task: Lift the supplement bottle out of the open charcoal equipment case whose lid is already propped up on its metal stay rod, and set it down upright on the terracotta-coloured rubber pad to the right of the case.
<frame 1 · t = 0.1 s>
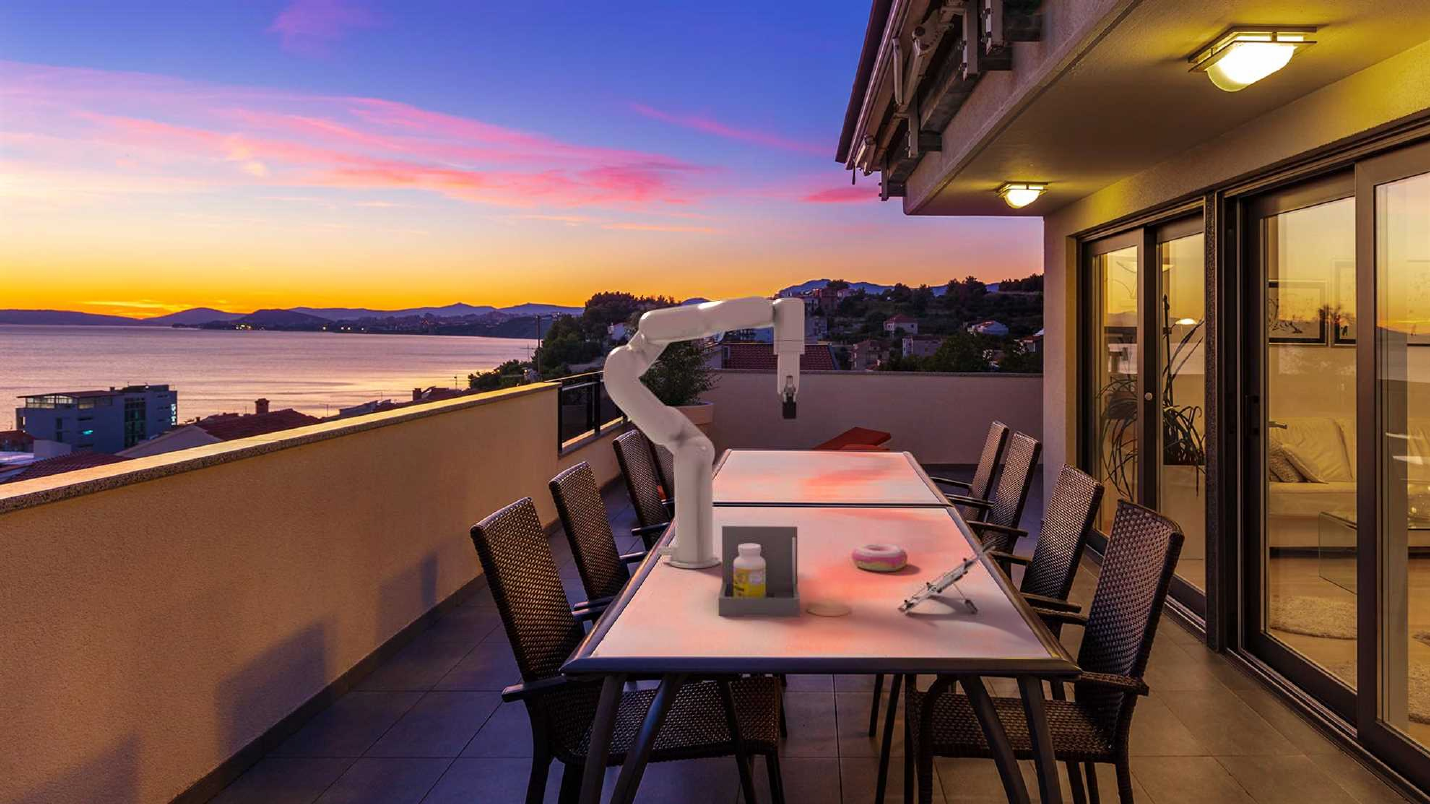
hand: (789, 417, 206), 37 cm above the table, fingers open, 9 cm apart
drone: (946, 610, 170), on the table
case: (759, 607, 171), on the table
donut: (879, 567, 205), on the table
supplement bottle: (749, 608, 172), resting in case
pad: (828, 609, 169), on the table
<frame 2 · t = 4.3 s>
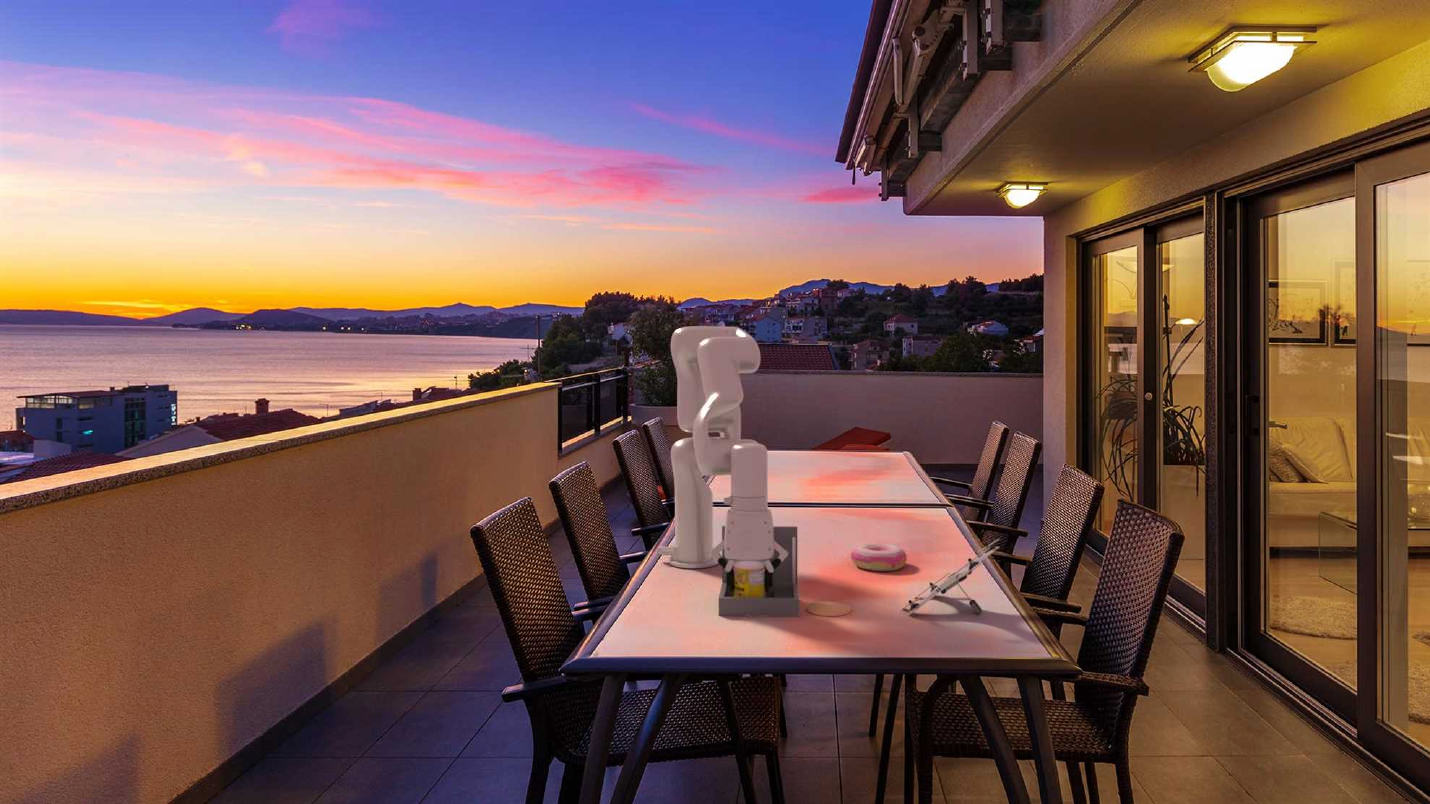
hand: (749, 589, 171), 4 cm above the table, fingers closed on supplement bottle, 6 cm apart
supplement bottle: (749, 608, 172), resting in case, touching gripper
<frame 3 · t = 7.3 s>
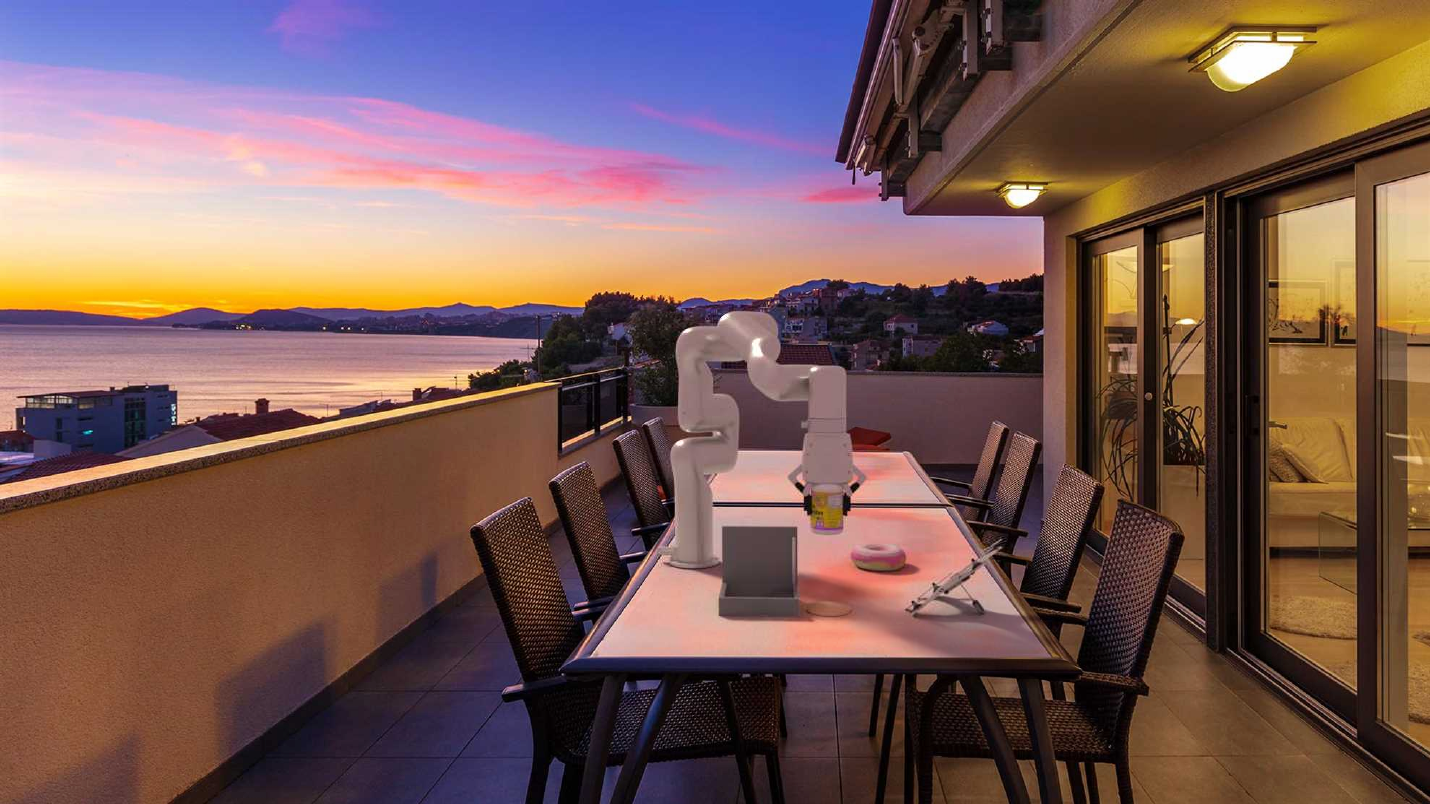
hand: (826, 514, 169), 20 cm above the table, fingers closed on supplement bottle, 6 cm apart
supplement bottle: (826, 533, 169), point 16 cm above the table, touching gripper
when the fingers open (5 cm above the table, at t = 10.5 s): supplement bottle stays where it is, resting on pad.
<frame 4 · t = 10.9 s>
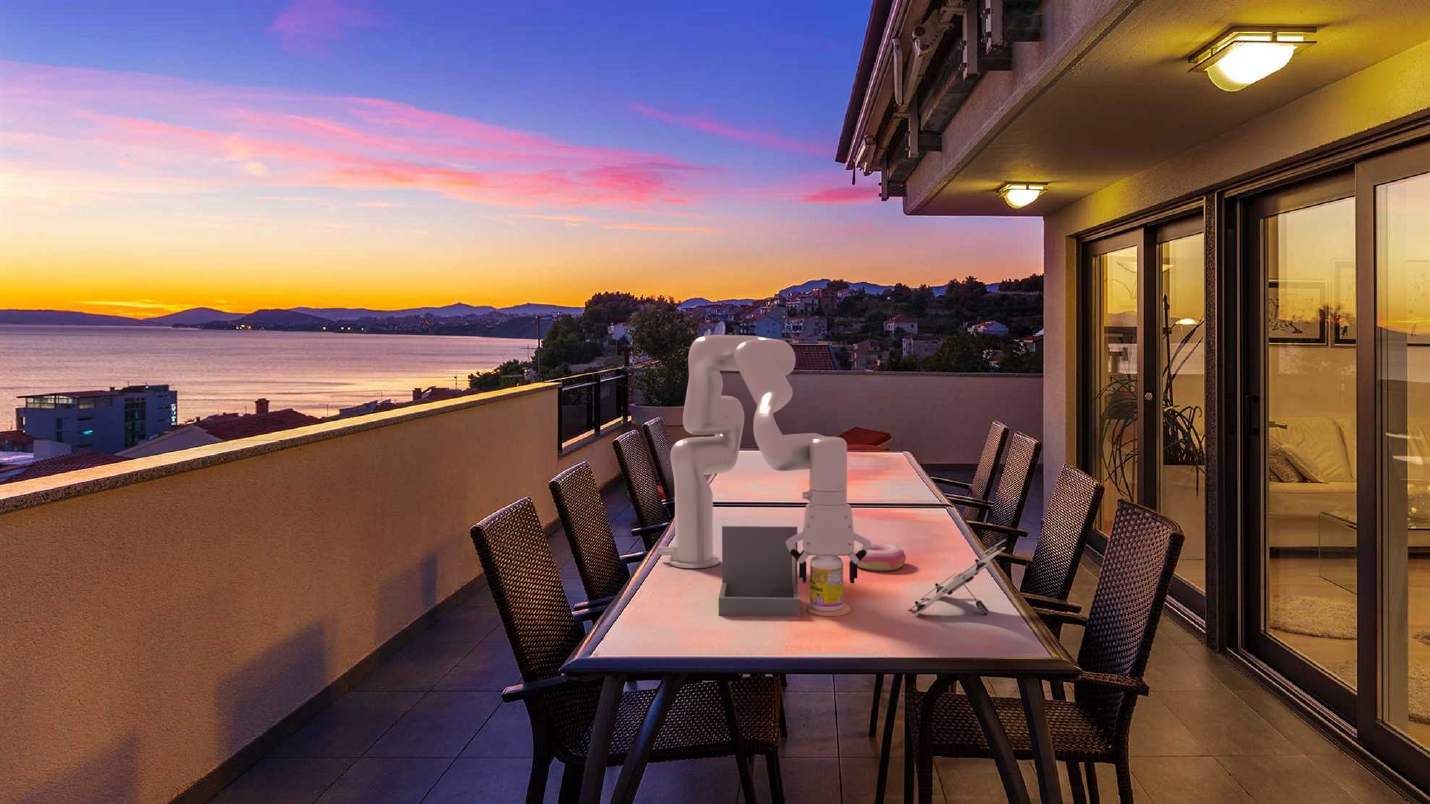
hand: (828, 581, 169), 6 cm above the table, fingers open, 9 cm apart
supplement bottle: (826, 608, 170), resting on pad
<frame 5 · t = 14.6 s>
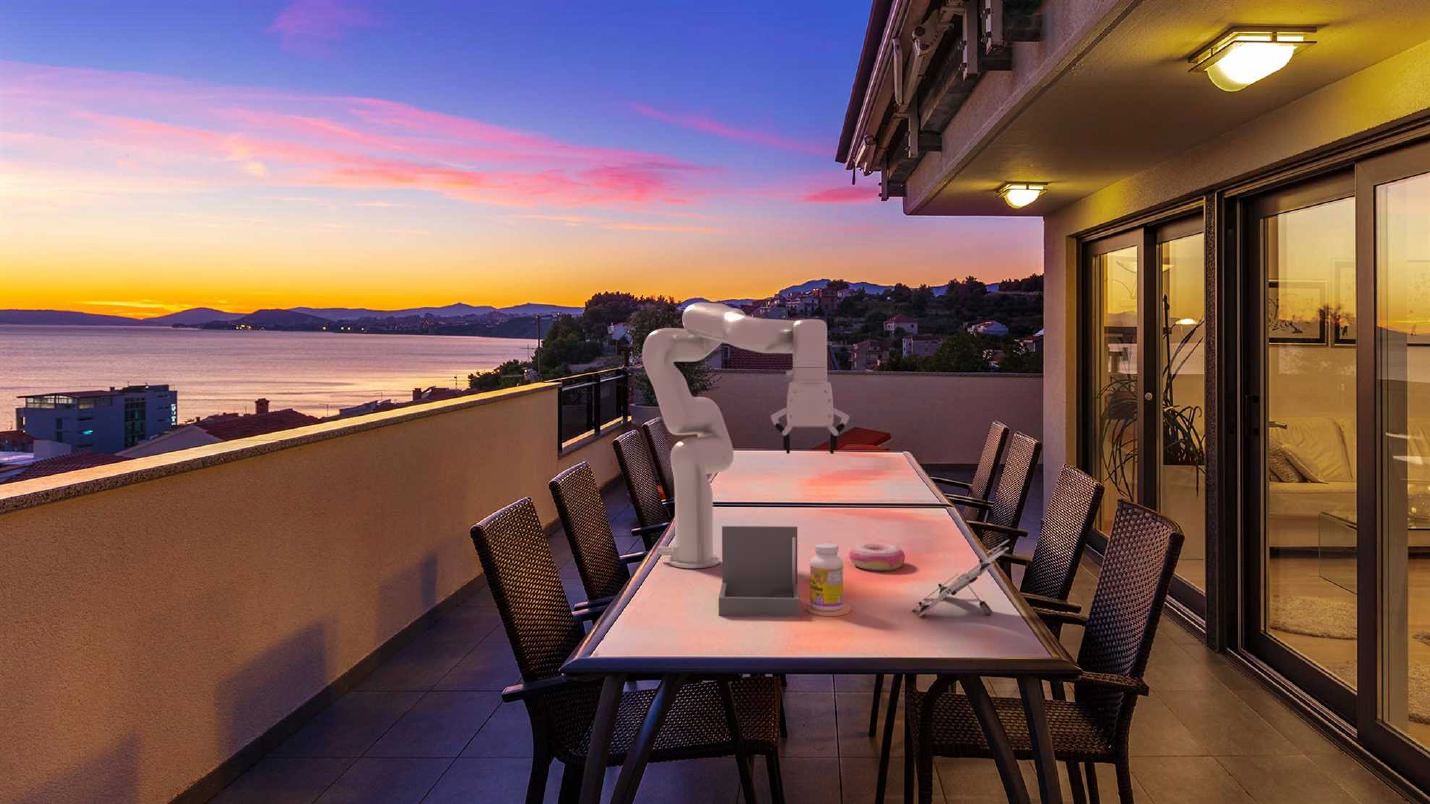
hand: (809, 453, 184), 30 cm above the table, fingers open, 9 cm apart
at the end: supplement bottle 0.3 cm from the pad (horizontally); supplement bottle tilted 1°; supplement bottle resting on pad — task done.
